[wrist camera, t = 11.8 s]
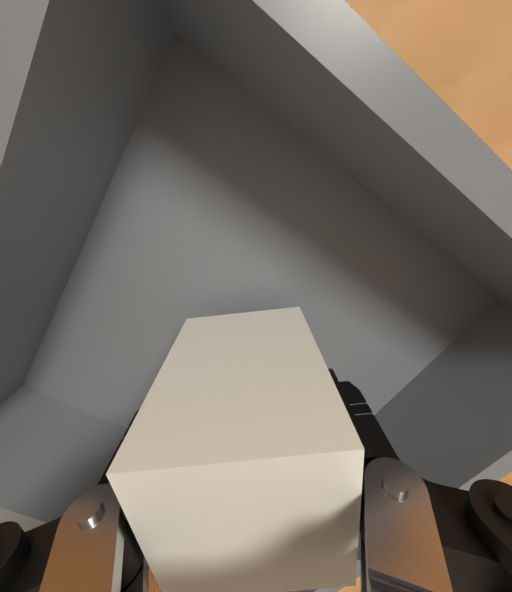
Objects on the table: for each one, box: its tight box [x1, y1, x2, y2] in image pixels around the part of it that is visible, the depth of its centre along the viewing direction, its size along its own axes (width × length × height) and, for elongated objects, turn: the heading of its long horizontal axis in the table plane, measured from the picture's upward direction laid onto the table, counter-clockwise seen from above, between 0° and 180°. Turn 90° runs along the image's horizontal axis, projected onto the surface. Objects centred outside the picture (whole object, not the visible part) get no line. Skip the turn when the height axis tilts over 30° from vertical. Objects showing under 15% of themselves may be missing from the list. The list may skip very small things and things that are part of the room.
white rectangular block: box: [106, 307, 365, 592], centre depth 9 cm, size 5×5×7 cm
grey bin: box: [0, 0, 512, 592], centre depth 12 cm, size 20×20×6 cm
